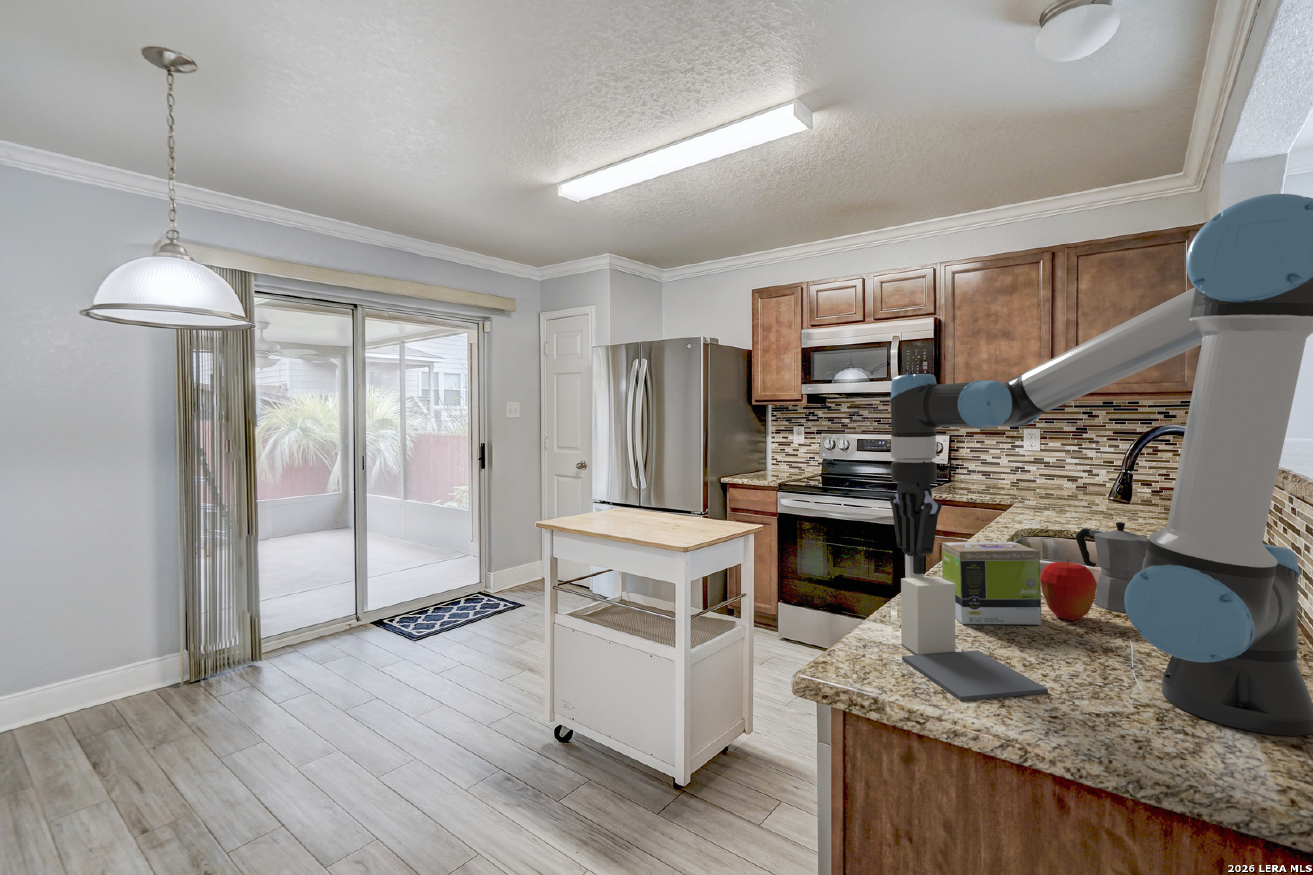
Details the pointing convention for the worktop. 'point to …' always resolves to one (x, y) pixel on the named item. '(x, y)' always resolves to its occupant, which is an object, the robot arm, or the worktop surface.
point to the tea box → (994, 582)
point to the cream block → (927, 615)
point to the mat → (973, 675)
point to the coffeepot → (1114, 562)
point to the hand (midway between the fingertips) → (914, 590)
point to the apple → (1068, 589)
